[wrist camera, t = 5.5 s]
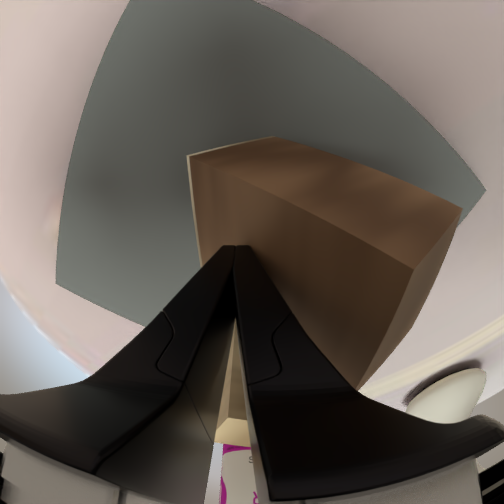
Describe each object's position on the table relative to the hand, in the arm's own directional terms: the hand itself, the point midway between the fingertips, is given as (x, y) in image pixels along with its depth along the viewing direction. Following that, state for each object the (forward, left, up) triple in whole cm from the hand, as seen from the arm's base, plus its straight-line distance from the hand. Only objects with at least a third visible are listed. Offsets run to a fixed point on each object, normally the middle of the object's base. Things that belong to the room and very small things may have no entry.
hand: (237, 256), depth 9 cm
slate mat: (-1, +2, -6) cm, 6 cm away
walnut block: (0, 0, -4) cm, 4 cm away
